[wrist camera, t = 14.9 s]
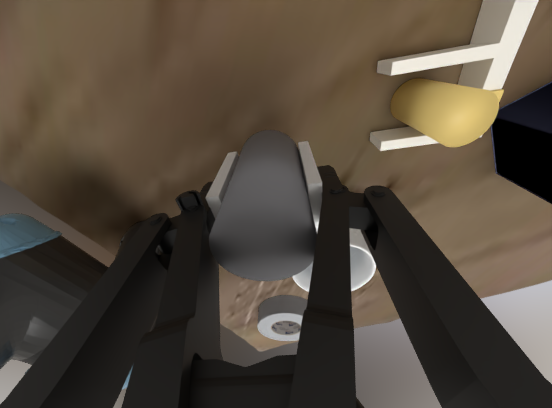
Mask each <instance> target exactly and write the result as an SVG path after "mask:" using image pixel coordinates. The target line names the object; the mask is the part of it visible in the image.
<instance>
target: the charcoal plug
mask: <svg viewBox="0 0 552 408" xmlns="http://www.w3.org/2000/svg"><path fill="white" fill-rule="evenodd" d="M316 239H317V232H316V227H315V223H314V218H313V213H312V209H311V204H310V200H309V196H308V192H307V187H306V183H305V178H304V173H303V169H302V164H301V160H300V155H299V150H298V148H297V146H296V144H295V142H294V141H293V140H292V139H291V138H290V137H289V136H288V135H286V134H284V133H282V132H279V131H275V130H264V131H260V132H257V133H255V134H254V135H252V136H251V137H250V138H249V139H248V140H247V141H246V142H245V144H244V146H243V148H242V151H241V153H240V156H239V159H238V161H237V164H236V166H235V169H234V172H233V174H232V177H231V180H230V182H229V185H228V188H227V190H226V193H225V196H224V198H223V201H222V203H221V206H220V209H219V211H218V214H217V217H216V219H215V222H214V225H213V227H212V230H211V233H210V236H209V247H210V250H211V253H212V255H213V257H214V258H215V260H216V261H217V262H218V263H219V264H220V265H221V266H222V267H223V268H225V269H226V270H227V271H229V272H231V273H233V274H235V275H237V276H240V277H242V278H246V279H250V280H256V281H276V280H282V279H286V278H289V277H292V276H294V275H297V274H298V273H300V272H302V271H303V270H305V269H306V268H307V267H308V266H309V265H310V264H311V263H312V262H313V260H314V253H315V246H316Z"/></svg>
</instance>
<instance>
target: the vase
mask: <svg viewBox="0 0 552 408" xmlns="http://www.w3.org/2000/svg"><path fill="white" fill-rule="evenodd" d="M491 134H492V143H493V152H494V160H495V169H496V174H498V175H500V176H502V177H504V178H506V179H507V180H509V181H511V182H513V183H515V184H516V185H518V186H520V187H522V188H524V189H525V190H527V191H529V192H531V193H533V194H535V195H536V196H538V197H540V198H542V199H544V200H545V201H547V202H549V203H551V204H552V82H550V83H548V84H546V85H544V86H542V87H540V88H539V89H537V90H535V91H533V92H531V93H529V94H527V95H525V96H523V97H521V98H519V99H517V100H516V101H514V102H512V103H510V104H508V105H506V106H504V107H502V108H500V109H499V110H498V113H497V116H496V118H495V120H494V122H493V123H492V125H491Z"/></svg>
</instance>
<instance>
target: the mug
mask: <svg viewBox="0 0 552 408" xmlns="http://www.w3.org/2000/svg"><path fill="white" fill-rule="evenodd" d="M318 225H319V222H315V227H316V232H318ZM350 265H351V291H353V290H356V289H358V288H360V287H361V286H363V285H364V284H366V283H367V282H368V281H369V280H370V279H371V278H372V276H373V275H374V272H375V269H376V264H375V262H374V259H373V257H372V255H371V253H370V251H369V248H368V246H367V244H366V242H365V240H364V237H363V235H362V233H361V230H360V229H352V228H350ZM312 267H313V262H312V263H311V264H310V265H309V266H308V267H307V268H306V269H305V270H303V271H302V272H300V273H298V274H297V275H294V276H292V277H293V279H294V281H295V282H296V284H297V285H298V286H300V287H301V288H302V289H304V290H306V291H308V292H309V288H310V281H311V274H312Z"/></svg>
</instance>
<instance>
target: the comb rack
mask: <svg viewBox="0 0 552 408" xmlns="http://www.w3.org/2000/svg"><path fill="white" fill-rule="evenodd" d="M537 3H538V0H483V2H482V5H481V9H480V12H479V15H478V18H477V22H476V25H475V28H474V32H473V35H472V38H471V41H470V45H464V46H459V47H453V48H447V49H442V50H436V51H431V52H425V53H420V54H414V55H408V56H403V57H397V58H392V59H386V60H381V61H378V65H377V73H380V74H385V75H397V74H403V73H409V72H415V71H420V70H426V69H432V68H438V67H444V66H450V65H455V64H461V63H464V64H463V68H462V71H461V74H460V77H459V81H458V84H457V85H462V86H468V87H474V88H479V89H485V90H489V91H492V92H493V93H494V94H495V95H496V96H497V98H498V101H500V99H501V97H502V94H503V92H504V90H502V87H503V84H504V82H505V80H506V77H507V75H508V72H509V70H510V68H511V65H512V63H513V60H514V58H515V56H516V53H517V51H518V48H519V46H520V44H521V41H522V39H523V36H524V34H525V32H526V29H527V27H528V24H529V22H530V20H531V17H532V15H533V12H534V10H535V8H536V5H537ZM482 135H483V134H482ZM482 135H481V136H480V137H482ZM370 141H371V142H372V143H373V144H374V145H375V146H376V147H377V148H378V149H379V150H380V151H383V150H390V149H398V148H405V147H412V146H420V145H427V144H434V143H439V142H437V141H435V140H434V139H432V138H430V137H428V136H426V135H425V134H423V133H421V132H419V131H417V130H416V129H414V128H412V127H410V126H409V127H402V128H395V129H388V130H382V131H375V132H370Z"/></svg>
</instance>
